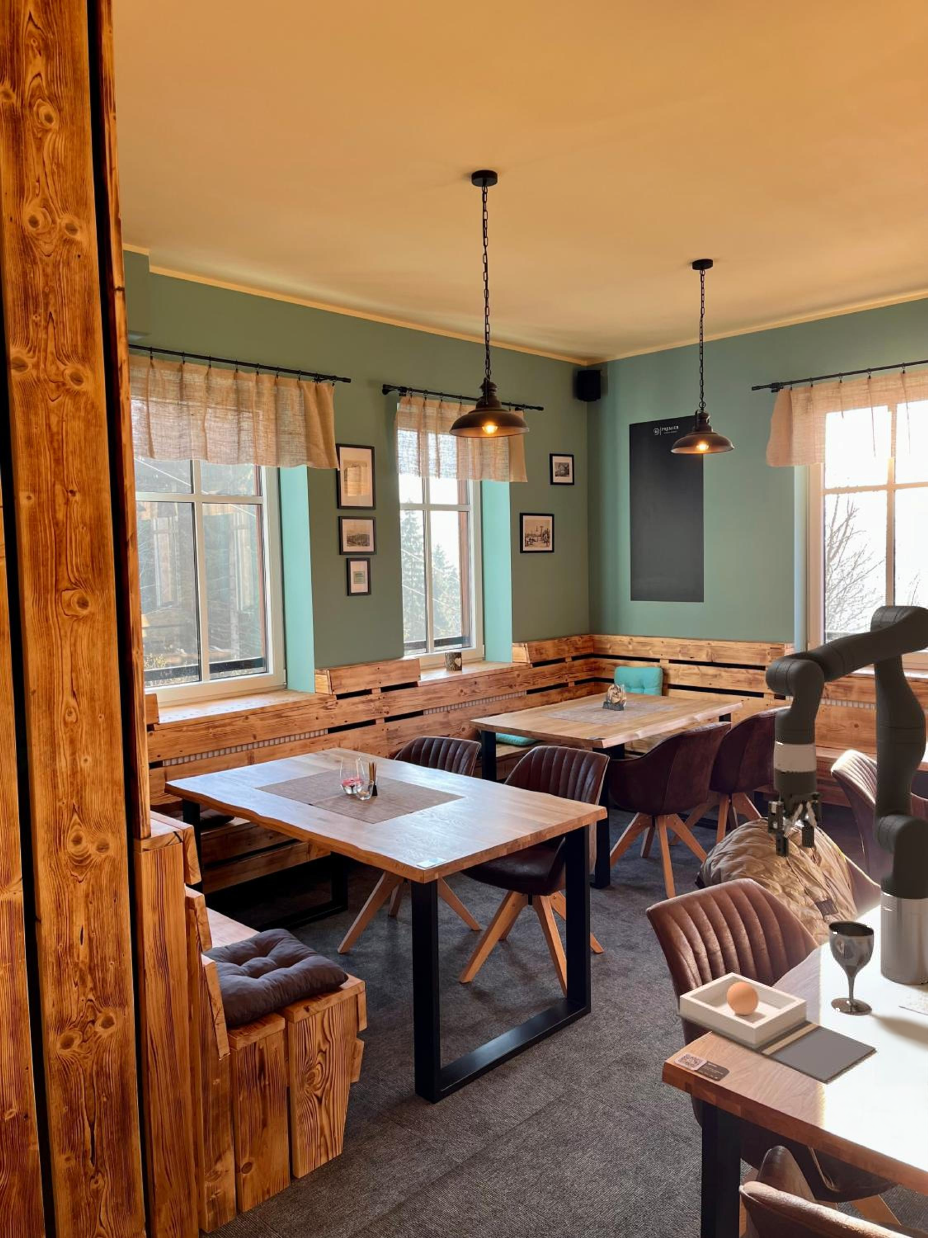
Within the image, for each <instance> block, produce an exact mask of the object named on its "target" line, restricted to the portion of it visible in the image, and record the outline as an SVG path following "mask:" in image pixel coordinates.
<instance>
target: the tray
mask: <svg viewBox="0 0 928 1238" xmlns="http://www.w3.org/2000/svg"><path fill="white" fill-rule="evenodd" d="M738 982H744V983H747V984H749V985H751V986H752V987H753V988H754V989H755V990H756V992H757V994H758V999H759V1002H758V1006H757V1008H756V1010H755V1011H754V1012H753V1013H751V1014H749V1015H740V1014H738V1013H736V1012H734V1011H733V1010H732V1009H731V1008H730V1006H729V1004H728V1001H727V992H728V990H729V988H730V987H731V986H732V985H733V984H735V983H738ZM679 1012H680V1015H681V1016H683V1017H685V1018H687V1019H690V1020H692V1021H694V1022H696V1023H698V1024H701V1025H703V1026H705V1027H707V1028H710V1029H712V1030H714V1031H716V1032H718V1033H721V1034H723V1035H725V1036H727V1037H729V1038H732V1039H734V1040H736V1041H738V1042H740V1043H743V1044H745V1045H747V1046H749V1047H751V1048H754V1049H756V1048H757V1047H759V1046H761V1045H763V1044H765V1043H766V1042H768V1041H770V1040H772V1039H774V1038H775V1037H777V1036H779V1035H781V1034H783V1033H784V1032H786V1031H788V1030H790V1029H791V1028H793V1027H795V1026H797V1025H799V1024H800V1023H802V1022H804V1021H806V1020H807V1000H805V999H803V998H800V997H798V996H796V995H792V994H790V993H787V992H785V991H782V990H779V989H776V988H774V987H771V986H768V985H766V984H763V983H761V982H758V981H755V980H753V979H750V978H748V977H745V976H743V975H740V974H737V973H735V972H730V973H727V974H726V975H723V976H720V977H718V978H717V979H715V980H714V979H713V980H712V981H710V982H708V983H706V984H704V985H701V986H699V987H697V988H695V989H693V990H690V991H688V992H686V993H683V994H682V995H680V996H679Z"/></svg>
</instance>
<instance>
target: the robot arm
mask: <svg viewBox="0 0 928 1238" xmlns="http://www.w3.org/2000/svg"><path fill="white" fill-rule="evenodd" d="M870 620H871V621H870V625H869V626H870V628H869V631H864V632H861V633H855V634H850V635H845V636H842V637H839V638H835V639H833V640H831V641H828V642H827V643H823V644H821V645H820V646H817V647H816V648H813V649H810V650H803V651H799V652H795V653H791V654H787V655H783V656H781V657H779V658H777V659H775V660H773V662H771V664H770V665H768V668H767V670H766V673H765V675H764V677H765V683H766V685H767V687H768V689H769V690H770V691H772V693H774V694H777V695H780V696H785V697H792V702H791V705H790V708H785V709H781V710H779V711H777V712H776V713H775V718H774V731H775V732H774V749H773V788H774V790H775V791H777V792H778V794H779V797H778V801H773V800H769V801H768V803H767V804H768V805H767V826H766V827H767V829H766V831H767V833H768V834H771V835H773V836H775V854H776V855H777V856H778V857H781V858H787V857H789V856H790V855H789V854H790V853H789V852H790V849H789V847H790V845H789V844H790V843H789V842H790V841H789V840H790V839H789V835H790V832H791V829H792V828H794V827H795V826H796V823H797V822H799V821H800V824H801V825H802V826H801V846H802V847H804V848H806V849H807V848H808V849H812V848H814V847H815V829H816V828H817V824H821V823H822V822H823V821H822V820H823V817H822V816H823V815H822V812H823V809H822V793H821V792H819V791H817V785H818V784H817V775H818V774H817V770H818V769H817V766H818V765H817V762H818V761H817V750H816V749H817V748H816V718H817V715H818V712H819V708H820V705H821V704H820V703H821V701H822V698H823V693H824V689H825V684H826V683H832V682H834V681H837V680H839V679H842V678H844V677H845V676H848V675H850V674H853V673H854V672H856V671H859V670H861V669H863V668H866V667H869V666H871V665H873V673H874V683H875V684H874V687H875V689H874V690H875V744H876V745H875V746H876V748H875V749H876V788H875V789H876V790H875V791H876V792H875V800H874V809H873V810H874V811H873V820H872V822H873V823H872V834H873V839H874V841H875V842H876V845H877V846H878V847H879V848H880V849H881V850H883V851H884V852H885V853H888V854H889V855H891V856H892V868H891V869H892V870H891V871H888V872H884V873H883V874H882V875H881V877H880V973H881V974H882V975H883V976H884V977H885V978H886V979H888V980H891V981H893V982H898V983H901V984H905V985H906V984H907V985H922V984H921V983H924V984H926V983H925V982H926V981H928V820H927V819H925V818H922V817H920V816H917V815H915V814H913V813H912V803H911V802H912V801H911V800H912V799H911V792H912V791H911V790H912V785H913V780H914V777H915V774H916V773H917V772H918V770H919V767H920V766H921V763H922V761H923V760H924V757H925V754H926V749H927V719H926V714H925V711H924V710H923V707H922V705H921V703H920V701H919V699H918V698H917V696H916V694H915V693H914V691H913V689H912V688H911V686H910V684H909V682H908V680H907V678H906V676H905V672H904V671H905V670H904V665H903V655H906V654H910V653H916V652H921V651H924V650H926V649H928V608H926V607H923V606H920V605H919V606H918V605H883V606H880V607H878V608H876V610H875V611H874V612H873V615H872V616H871V619H870ZM814 811H815V813H814ZM774 823H775V825H774Z"/></svg>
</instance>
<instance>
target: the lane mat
mask: <svg viewBox="0 0 928 1238" xmlns="http://www.w3.org/2000/svg"><path fill="white" fill-rule="evenodd" d="M675 1016H677V1017H678V1018H681V1019H683V1020H685V1021H688V1022H690V1023H691V1024H695V1026H696V1025H697V1026H699V1027H701V1028H703V1029H705V1030H707V1031H709V1032H711V1033H713V1034H716V1035H717V1036H720V1037H723V1038H725V1039H727V1040H728V1041H731V1042H733V1043H736V1044H738V1045H740V1046H742V1047H744V1048H747V1049H749V1050H751V1051H753V1052H756V1053H758V1054H760V1055H762V1056H765V1057H766V1058H769V1059H771V1060H772V1061H775V1062H778V1063H779V1064H782V1065H784V1066H786V1067H788V1068H791V1069H793V1070H795V1071H797V1072H799V1073H802V1074H804V1075H806V1076H808V1077H810V1078H813V1079H815V1080H817V1081H820V1082H822V1083H824V1084H826V1083H827V1082H829V1081H830V1080H832V1079H833V1078H836V1076H838V1075H840V1074H841V1073H842V1072H844V1071H846V1070H847V1069H849V1068H851V1067H852V1066H854V1065H855V1064H857V1063H858V1062H860V1061H861V1060H863V1059H864V1058H866V1057H867V1056H869V1055H871V1054H872V1053H874V1052H875V1051H876V1047H874V1046H871V1045H870V1044H866V1043H865V1042H862V1041H859V1040H857V1039H854V1038H852V1037H850V1036H847V1035H844V1034H842V1033H839V1032H837V1031H834V1030H832V1029H829V1028H827V1027H825V1026H821V1025H820V1024H818V1023H816V1022H811V1021H809V1020H807V1019H806V1021H804V1022H802V1023H800V1024H799V1025H797V1026H795V1027H793V1028H791V1029H790V1030H788V1031H786V1032H784V1033H783V1034H781V1035H779V1036H777V1037H775V1038H774V1039H772V1040H770V1041H768V1042H766V1043H765V1044H763V1045H761V1046H759V1047H757V1048H756V1049H754V1048H751V1047H749V1046H747V1045H745V1044H743V1043H740V1042H738V1041H736V1040H734V1039H732V1038H729V1037H727V1036H725V1035H723V1034H721V1033H718V1032H716V1031H714V1030H712V1029H710V1028H707V1027H705V1026H703V1025H701V1024H698V1023H696V1022H694V1021H692V1020H690V1019H687V1018H685V1017H683V1016H681V1015H680V1011H678V1012H676V1013H675Z"/></svg>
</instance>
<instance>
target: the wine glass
mask: <svg viewBox="0 0 928 1238" xmlns="http://www.w3.org/2000/svg"><path fill="white" fill-rule="evenodd" d="M828 942H829V947H830V948H829V949H830V951H831V955H832V957H833V959H834V961H835V962H837V964H838V965H839V966H840V967H841V968H842V970H843V971H844V972H845V975H846V978H847V984H848V985H847V986H848V997H838V998H834V999H832V1001H831V1002H830V1005H831V1007H832V1008H833V1009H834V1010H836V1011H838V1012H840V1013H842V1014H845V1015H851V1016H866V1015H869V1014H871V1013H872V1011H873V1009H872V1007H871V1006H870V1004H868V1003H867V1002H865V1001H863V1000H860V999H857V998H854V989H855V987H854V986H855V980H856V977H857V976H858V973H860V972H861V970H863V969H864V968H865V967H866V966H867V965H868V964H869V963H870V962H871V959H872V956H873V952H874V947H875V946H874V945H875V930H874V928H873V927H871V926H869V925H868V924H865V923H861V922H858V921H852V920H835V921H831V922H830V923H829V924H828Z"/></svg>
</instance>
